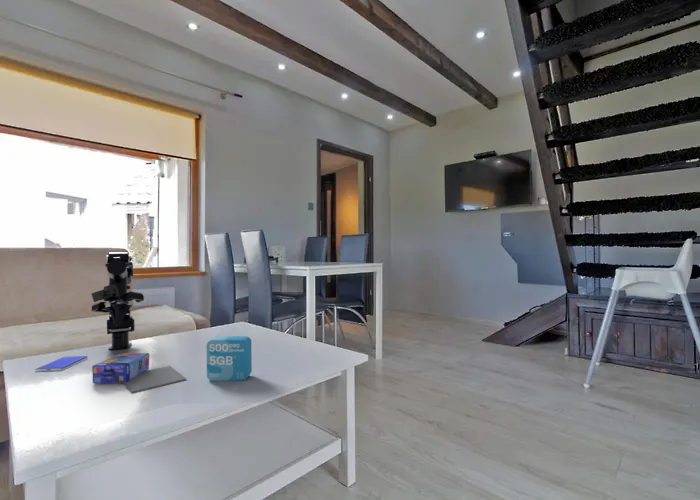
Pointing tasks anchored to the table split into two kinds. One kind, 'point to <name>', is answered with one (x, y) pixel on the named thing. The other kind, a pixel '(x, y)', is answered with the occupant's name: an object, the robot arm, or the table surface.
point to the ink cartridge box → (120, 368)
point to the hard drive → (62, 363)
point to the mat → (154, 379)
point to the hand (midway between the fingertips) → (117, 325)
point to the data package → (229, 358)
